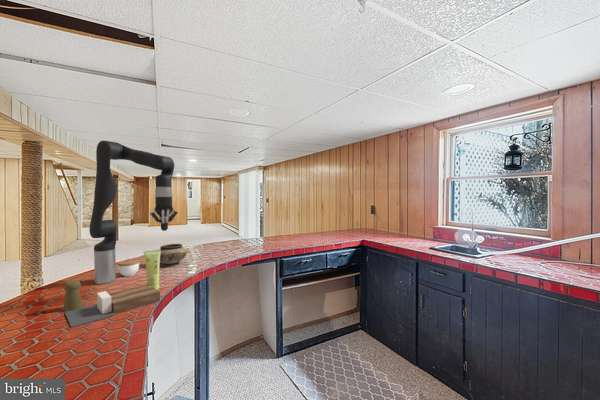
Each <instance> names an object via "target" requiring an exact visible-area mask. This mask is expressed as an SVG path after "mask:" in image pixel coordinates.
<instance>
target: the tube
mask: <svg viewBox="0 0 600 400" xmlns="http://www.w3.org/2000/svg"><path fill="white" fill-rule="evenodd" d="M153 250H154V251H153ZM153 250H144V251H143V255H144V261H145V271H146V281H147V283H146V285H150V286H152V287H153V288H155V289H156V290H159V289H160V263H161V262H160V253H161V250H156V249H153Z"/></svg>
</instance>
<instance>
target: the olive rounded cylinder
mask: <svg viewBox="0 0 600 400" xmlns="http://www.w3.org/2000/svg"><path fill="white" fill-rule="evenodd" d="M81 286H82V284H81V282H80V281H79V280H72V281H68V282H66V283H65V284H64V286H63V289H64V291H65V297H64V304H63V309H62V310H63V311H64V312H68V311H72V310H76V309H80V308H83V301H82V296H81V291H80V288H81Z"/></svg>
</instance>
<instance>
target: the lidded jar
mask: <svg viewBox="0 0 600 400" xmlns="http://www.w3.org/2000/svg"><path fill="white" fill-rule="evenodd" d="M116 265H117V270H118V272H119V274H120V275H121V276H122V277H132V276H134V275H136V273H137V272H138V270H139V267H140V259H136V258H135V259H134V258H133V259H132V258H131V259H130V258H127V259H125V260H121V261H118V262H117V264H116Z"/></svg>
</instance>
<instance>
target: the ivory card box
mask: <svg viewBox="0 0 600 400" xmlns="http://www.w3.org/2000/svg"><path fill="white" fill-rule="evenodd" d="M109 294H110V293H108V291H106V290H104V291H101V292H97V293H96V304H97V308H98V309H99V310H100V312H101V313H102V314H104V313H108V312H111V311H112V305H111V296H110V295H109Z"/></svg>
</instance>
